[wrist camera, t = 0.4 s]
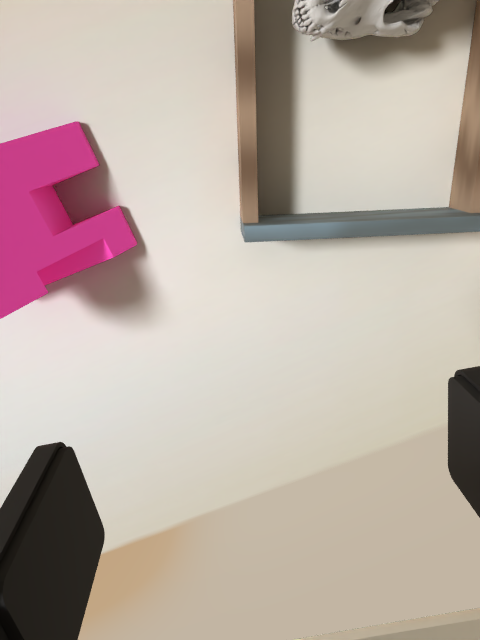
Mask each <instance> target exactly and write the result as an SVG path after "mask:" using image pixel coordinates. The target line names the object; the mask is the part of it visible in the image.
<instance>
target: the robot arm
mask: <svg viewBox="0 0 480 640" xmlns="http://www.w3.org/2000/svg"><path fill="white" fill-rule="evenodd" d="M448 468H449V472H450V475H451V477H452V479H453V480H454V482H455V484H456V485H457V486H458V488H459V489H460V491H461V492H462V493H463V495H464V496H465V498H466V499H467V501H468V502H469V503H470V505H471V506H472V508H473V509H474V510H475V512H476V513H477V515H478V516H479V517H480V366H478V367H472V368H467V369H461V370H457V371H456V372H455V375H454V377H451V378H450V379H449V382H448ZM103 544H104V528H103V524H102V522H101V519H100V517H99V514H98V512H97V509H96V506H95V504H94V501H93V499H92V496H91V494H90V491H89V488H88V486H87V483H86V481H85V478H84V475H83V473H82V470H81V468H80V465H79V463H78V460H77V457H76V455H75V452H74V450H73V448H72V447H66V446H65V444H64V443H62V442H58V443H53V444H47V445H42V446H38V447H36V449H35V450H34V451H33V453H32V455H31V457H30V458H29V460H28V462H27V464H26V465H25V467H24V469H23V470H22V472H21V474H20V476H19V477H18V479H17V481H16V483H15V484H14V486H13V488H12V489H11V491H10V493H9V495H8V496H7V498H6V500H5V501H4V503H3V505H2V507H1V508H0V640H77V639H78V636H79V632H80V628H81V624H82V621H83V617H84V614H85V610H86V606H87V603H88V599H89V595H90V592H91V588H92V584H93V581H94V577H95V573H96V570H97V566H98V562H99V559H100V555H101V551H102V548H103ZM294 640H480V608H476V609H469V610H463V611H458V612H452V613H446V614H440V615H434V616H428V617H422V618H416V619H410V620H404V621H398V622H393V623H386V624H380V625H375V626H369V627H363V628H357V629H352V630H345V631H340V632H334V633H329V634H323V635H317V636H311V637H306V638H300V639H294Z"/></svg>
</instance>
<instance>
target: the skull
mask: <svg viewBox="0 0 480 640" xmlns="http://www.w3.org/2000/svg"><path fill="white" fill-rule="evenodd" d="M438 1H439V0H401V1H400V3H399V4H398V5H397V7H396V9H395V11H394V12H392V13H384V12H385V9H386V8H387V6H388V5H389V4H390V3H392V2H393V0H295V2H294V7H293V11H292V25H294V26H293V27H294V29H296V30H297V31H298V32H300V33H302V34H306V35H313V37H312V38H311V40H310V41H314V40H316V39H318V38H320V37H321V38H329V39H338V40H349V39H355V38H360V37H363V36H366V35H376V36H383V37H384V36H388V37H401V36H410V35H413V34H415V33H416V32H418V31H419V30H420V28H421V26H422V24H423V22H424V17H426V16H428V15H430V14H431V13H432V11H433V9H432V6H433V5H434V4H436V3H437V2H438ZM325 6H329V8H328V9H326V8H325ZM308 17H309V18H308Z"/></svg>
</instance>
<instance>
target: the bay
mask: <svg viewBox="0 0 480 640" xmlns="http://www.w3.org/2000/svg"><path fill="white" fill-rule="evenodd" d="M233 10H234V40H235V69H236V99H237V128H238V158H239V188H240V217H241V232H242V235H243V238H244V241H245V242H263V241H285V240H306V239H328V238H350V237H371V236H393V235H415V234H436V233H458V232H480V0H477V3H476V10H475V18H474V25H473V32H472V40H471V47H470V55H469V62H468V69H467V77H466V84H465V92H464V99H463V107H462V114H461V121H460V129H459V136H458V144H457V151H456V158H455V166H454V173H453V181H452V188H451V195H450V203H449V207H445V208H422V209H400V210H377V211H354V212H331V213H308V214H286V215H263V216H258V180H257V128H256V76H255V25H254V0H233Z"/></svg>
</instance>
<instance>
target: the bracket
mask: <svg viewBox="0 0 480 640" xmlns="http://www.w3.org/2000/svg"><path fill="white" fill-rule="evenodd" d="M97 166H99V163H98V161H97V159H96V157H95V155H94V153H93V151H92V148H91V146H90V144H89V142H88V140H87V138H86V136H85V134H84V132H83V130H82V128H81V126H80V124H79V122H73V123H69V124H66V125H63V126H59V127H56V128H52V129H49V130H45V131H42V132H39V133H35V134H32V135H28V136H25V137H22V138H18V139H15V140H11V141H8V142H5V143H1V144H0V319H1V318H3V317H5V316H7V315H8V314H10V313H12V312H14V311H16V310H18V309H19V308H21V307H23V306H25V305H27V304H29V303H31V302H32V301H34V300H36V299H38V298H40V297H42V296H43V295H45V294H47V293H48V291H47V289H46V288H45V285H47V284H49V283H52V282H54V281H57V280H59V279H62V278H64V277H67V276H69V275H72V274H74V273H77V272H79V271H81V270H84V269H86V268H89V267H91V266H94V265H96V264H99V263H101V262H104V261H106V260H108V259H111V258H113V257H115V256H117V255H119V254H121V253H123V252H124V251H126V250H128V249H130V248H132V247H134V246H136V245H137V242H136V239H135V237H134V235H133V233H132V231H131V229H130V227H129V225H128V223H127V221H126V219H125V217H124V215H123V213H122V210H121V208H120V206H117V207H115V208H112V209H110V210H107V211H105V212H103V213H100V214H98V215H96V216H93V217H91V218H88V219H86V220H84V221H81V222H79V223H76V224H74V225H73V224H72V222H71V220H70V218H69V216H68V214H67V212H66V211H65V209H64V207H63V205H62V203H61V201H60V199H59V197H58V196H57V194H56V192H55V190H54V188H53V186H52V185H55V184H57V183H59V182H62V181H64V180H66V179H69V178H71V177H73V176H76V175H78V174H80V173H83V172H85V171H87V170H90V169H92V168H94V167H97Z"/></svg>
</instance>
